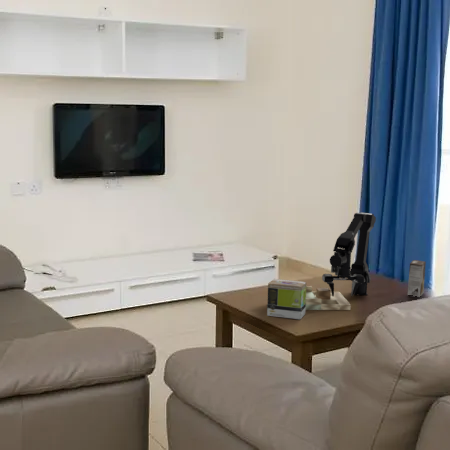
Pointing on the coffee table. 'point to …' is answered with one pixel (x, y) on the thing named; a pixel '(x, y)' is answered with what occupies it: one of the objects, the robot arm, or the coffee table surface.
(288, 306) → the tea box
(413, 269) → the coffee box
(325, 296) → the walnut block
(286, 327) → the coffee table surface
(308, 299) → the board
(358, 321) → the coffee table surface
